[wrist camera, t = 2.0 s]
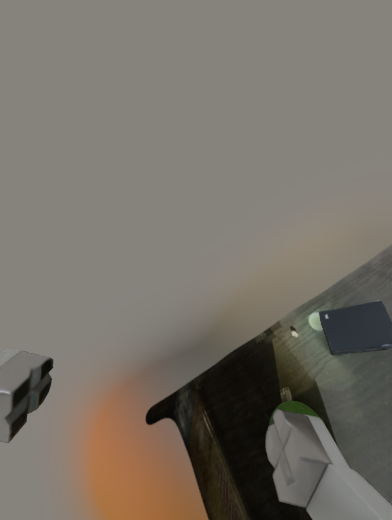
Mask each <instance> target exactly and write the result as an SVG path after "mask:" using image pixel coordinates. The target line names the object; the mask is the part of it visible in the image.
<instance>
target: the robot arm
mask: <svg viewBox="0 0 392 520" xmlns="http://www.w3.org/2000/svg"><path fill="white" fill-rule="evenodd" d="M52 368H53V359H52V358H49V357H45V356H41V355H37V354H33V353H29V352H25V351H20V350H16V349H12V348H7V349H4V350H2V351H1V352H0V442H6V443H9V442H10V441H11V440H12V439H13V437H14V436H15V435H16V434H17V433H18V431H19V430H20V429H21V428H22V427H23V425H24V424H25V423H26V421H27V414H29V413H31V412H33V411H34V410H36V409H38V407H39V406H40V405H41V404H42V402H43V401H44V399H45V397H46V396H47V394H48V392H49V389H50V386H51V381H52V378H51V377H50V375H49V371H50V370H51V369H52ZM273 420H274V424H272V425H271V426H269V427H268V430H267V433H266V442H265V445H266V452H267V456H268V460H269V461H270V463H271V464H272V465H273V467H274V468H275V470H274V472H273V475H272V476H273V479H274V483H275V487H276V491H277V494H278V498H279V501H280V502H284V503H288V504H292V505H296V506H300V507H304V508H307V509H306V510H307V512H308V513H309V515H310V516H311V518H312V520H392V505H391V504H390V503H389V502H388V501H387V500H386V499H385V498H384V497H383V496H382V495H380V494H379V493H378V492H377V491H376V490H375V489H374V488H373V487H372V486H371V485H370V484H369V483H368V482H367V481H366V480H365V479H364V478H363V477H362V476H361V475H360V474H359V473H358V472H356V471H355V470H353V469H350V468H349V466H348V464H347V463H346V461H345V459H344V457H343V456H342V454H341V452H340V450H339V449H338V447H337V445H336V443H335V442H334V440H333V438H332V436H331V435H330V433H329V431H328V430H327V428H326V426H325V424H324V423H323V421H322V420H321V419H320V418H319V417H315V416H310V415H303V414H300V413H295V412H290V411H286V410H281V409H277V410H276V411H275V412H274V414H273Z"/></svg>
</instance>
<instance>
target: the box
mask: <svg viewBox="0 0 392 520" xmlns="http://www.w3.org/2000/svg"><path fill="white" fill-rule="evenodd" d="M319 316H320V321H321V325H322V328H323V331H324V334H325V337H326V339H327V342H328V345H329V348H330V351H331V355H341V354H350V353H358V352H367V351H377V350H386V349H389V348H391V347H392V321H391V319H390V317H389V315H388V313H387V311H386V309H385V307H384V305H383V302H382V301H381V300H377V301H374V302H369V303H365V304H359V305H354V306H349V307H344V308H338V309H332V310H326V311H320V312H319Z"/></svg>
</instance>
